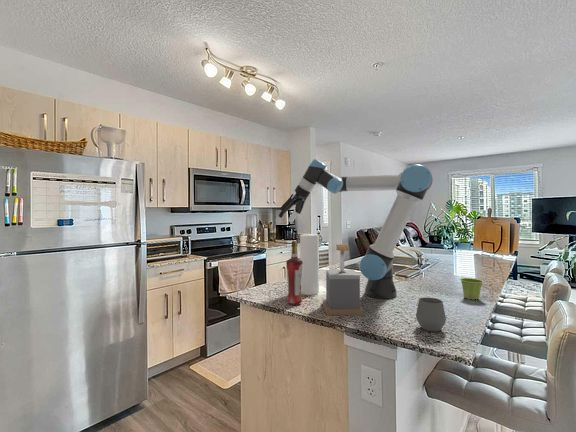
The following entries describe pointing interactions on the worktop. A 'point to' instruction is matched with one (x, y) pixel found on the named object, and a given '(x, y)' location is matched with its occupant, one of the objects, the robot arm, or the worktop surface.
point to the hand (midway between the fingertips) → (283, 222)
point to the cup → (431, 314)
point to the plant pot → (471, 288)
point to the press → (342, 293)
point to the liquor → (294, 277)
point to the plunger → (342, 255)
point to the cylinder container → (310, 263)
